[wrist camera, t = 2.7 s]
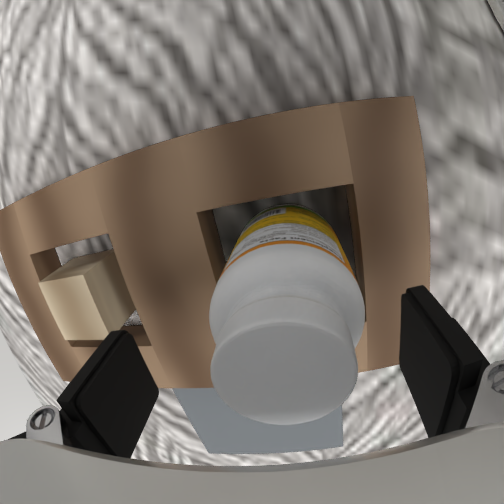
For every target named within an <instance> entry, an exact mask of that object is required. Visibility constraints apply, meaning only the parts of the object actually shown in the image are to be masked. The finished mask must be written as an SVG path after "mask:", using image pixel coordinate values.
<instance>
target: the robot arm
mask: <svg viewBox="0 0 504 504" xmlns="http://www.w3.org/2000/svg"><path fill="white" fill-rule="evenodd" d="M487 1H488V3H489V5H490V7H491V9H492V11H493V13H494V15H495V17H496V19H497V21H498V22H499V24H500V26H501V28H502V29H503V31H504V0H487ZM399 364H400V368H401V371H402V373H403V375H404V377H405V380H406V382H407V385H408V387H409V389H410V392H411V394H412V397H413V399H414V401H415V404H416V406H417V409H418V411H419V414H420V416H421V419H422V422H423V424H424V427H425V430H426V432H427V435H428V438H427V439H423V440H420V441H416V442H412V443H409V444H405V445H401V446H397V447H393V448H388V449H384V450H379V451H374V452H369V453H364V454H359V455H354V456H348V457H342V458H336V459H329V460H322V461H314V462H305V463H295V464H283V465H266V466H199V465H183V464H171V463H161V462H152V461H144V460H137V459H130V458H131V456H132V453H133V451H134V449H135V447H136V444H137V442H138V440H139V438H140V435H141V433H142V431H143V429H144V427H145V424H146V422H147V420H148V418H149V415H150V413H151V411H152V409H153V407H154V404H155V402H156V400H157V398H158V395H159V390H158V387H157V385H156V383H155V381H154V379H153V377H152V375H151V373H150V371H149V369H148V367H147V365H146V363H145V361H144V359H143V357H142V354H141V352H140V350H139V348H138V346H137V344H136V342H135V339H134V337H133V335H132V334H130V333H129V332H128V331H126V330H116V331H111V332H110V333H109V334H108V335H107V337H106V338H105V339H104V340H103V341H102V343H101V344H100V345H99V346H98V348H97V349H96V350H95V351H94V353H93V354H92V355H91V356H90V358H89V359H88V360H87V361H86V363H85V364H84V365H83V366H82V368H81V369H80V370H79V372H78V373H77V374H76V375H75V377H74V378H73V379H72V381H71V382H70V383H69V384H68V386H67V387H66V388H65V390H64V391H63V392H62V394H61V395H60V396H59V398H58V399H57V402H58V403H59V405H60V406H61V408H62V409H61V410H60V411H59V410H58V408H56V407H55V406H53V405H46V406H42V407H40V408H38V409H37V410H35V411H34V412H33V413H32V414H31V415H30V417H29V419H28V420H27V425H26V432H24V433H22V434H19V435H17V436H15V437H12V438H10V439H8V440H4V441H1V442H0V504H504V360H501V361H496V362H494V363H492V364H490V363H489V362H488V361H487V359H486V358H485V357H484V355H483V354H482V353H481V351H480V350H479V349H478V347H477V346H476V345H475V343H474V342H473V341H472V340H471V338H470V337H469V336H468V334H467V333H466V332H465V331H464V329H463V328H462V327H461V326H460V324H459V323H458V322H457V321H456V320H455V319H454V318H451V317H450V315H449V314H448V313H447V312H446V311H445V309H444V308H443V307H442V306H441V305H440V303H439V302H438V301H437V300H436V299H435V298H434V296H433V295H432V294H431V293H430V292H429V291H428V289H427V288H426V287H425V286H424V285H420V286H415V287H411V288H407V289H406V293H404V294H402V295H401V327H400V349H399Z"/></svg>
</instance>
